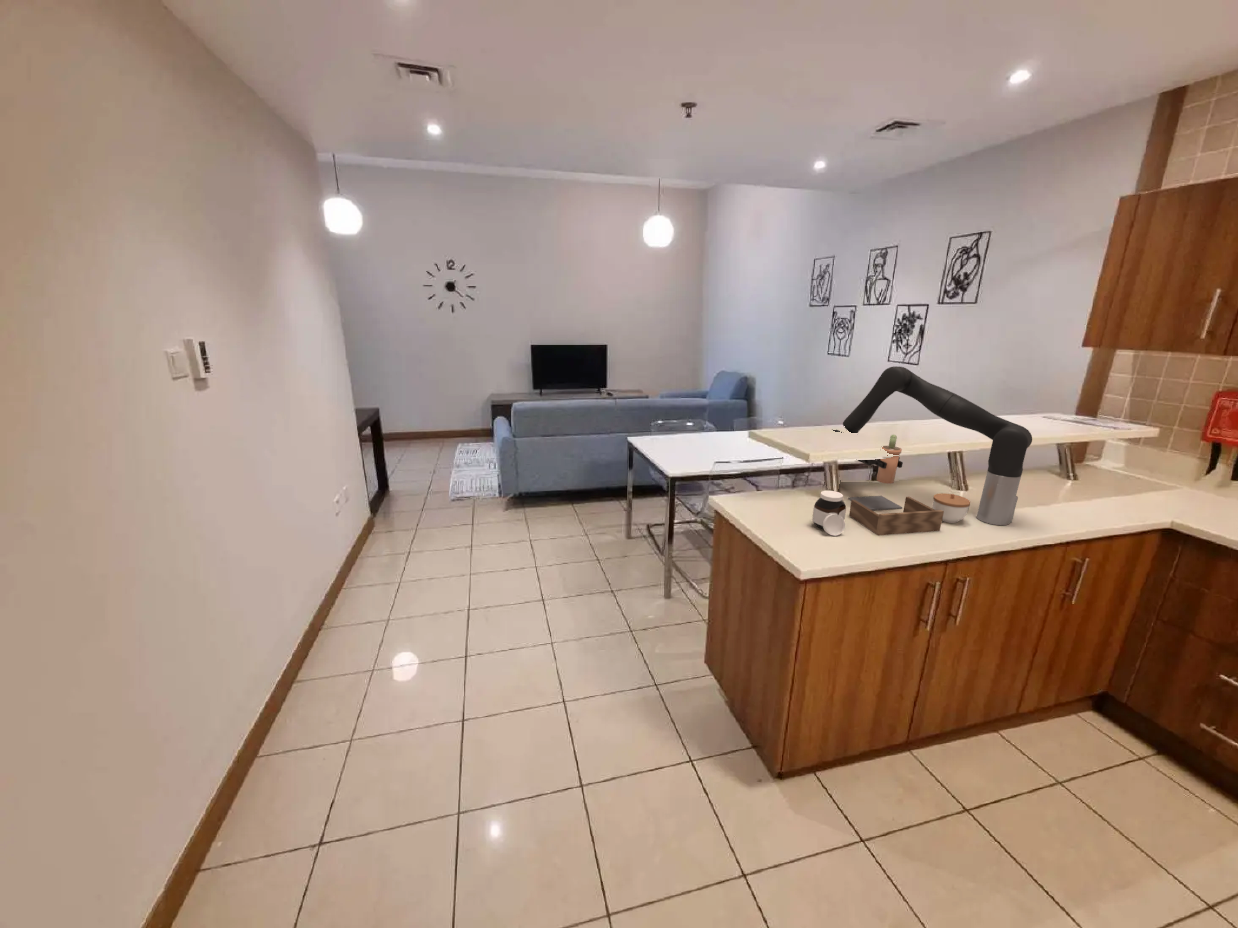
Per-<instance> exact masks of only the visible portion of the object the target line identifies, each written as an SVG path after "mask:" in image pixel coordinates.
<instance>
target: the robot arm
mask: <svg viewBox="0 0 1238 928" xmlns="http://www.w3.org/2000/svg"><path fill="white" fill-rule="evenodd" d="M896 392H898V393H901V394H903V395H906V396H908V397H909V398H912V399H913V400H916V401H918V402H919V403H920V404H921V405H922V406H924V407H925V408H926V409H927V410H928V411H929V412H931V413H932V414H934V415H935V416H937V417H939V418H940V419H942V420H944V421H946V422H948V423H951V424H953V425H955V426H959V427H961V428H965V429H968V430H971V431H975V432H977V433H979V434H982V435H983V436H985V437H987V438H988V439H990V440H992V442H991V447H990V452H989V456H988V461H987V462H988V463H987V464H988V466H987V471H986V476H985V478H984V479H985V480H984V484H983V488H982V493H981V496H980V500H979V504H978V509H977V513H976V518H977V520H979V521H980V522H981V521H982V522H983V523H987V524H990V525H994V526H996V525H997V526H1007V525H1009V524H1010V523H1013V519H1014V514H1015V511H1016V507H1017V503H1018V499H1019V497H1018V496H1017V493H1018V490H1019V486H1020V483H1021V482H1020V481H1021V478H1022V474H1023V470H1024V467H1023V466H1024V461H1025V457H1026V452H1027V450H1028V448H1029V447H1030V446H1031V444H1032V442H1033V435H1032V434H1031V433H1032V432H1030V430H1029V429H1028V428H1026V427H1024V426H1022V425H1021V424H1017V423H1014V422H1012V421H1009V420H1007V419H1005V418H1003V417H1002V418H1001V417H1000V416H997V415H995V414H993V413H992V412H990V411H987V410H986V409H984V408H982V407H981V406H979V405H977V404H975V403H974V402H972V401H970V400H968V399H966V398H964V397H962V396H960V395H958V394H957V393H955V392H953V391H950V390H948V389H945V388H943V387H941V386H938V385H935V384H933V383H931V382H929V381H927V380H925V379H923V378H922V377H921V376H919V375H917V374H916V373H914V372H913V371H911V370H910V369H908V368H906V367H904V366H890V367H888V368H886V369H885V370H884V371H883V372H882V373H881V374H880V376H879V377H878V379H877V381H876V382H875V383H874V385H873V387H872V388H871V389H870V391H869V392H868V393H867V394H866V396H865V397H864V398H863V399H862V401H861V402H860V403H859V404H858V405H857V406H856V407H855V408H854V409H853V410H852V411H851V412H850V414H849V415H848V416H847V417H846V418H844V420H843V422H842V426H843V427H844V426H845V427H844V428H845V430H846V431H847V430H848V431H849V432H851V433H858V434H859V432H860V431H861V430H862V428H864V426H865V425H866V424H867V423H868V422H869V421H870V420H871V419H872V417H874V415H875V413H876V412H877V410H878V408H879V407H880V406H881V405H882V404H883V402H884V401H885V400H886V399H888V398H889V397H890V396H892V394H894V393H896ZM832 430H833V429H832ZM833 431H835V432H840V431H841V430H839V429H836V430H833ZM842 432H843V431H841V433H842ZM900 459H901V458H900V456H899V460H898V465H897V469H898V468H899V469H900V468H902V467H903V461H901V460H900ZM857 462H859V463H862V464H864V465H867V466H869V467H870V466H871V467H872V466H874V467H878V468H879V467H881V468H883V469H885V468H886V465H887V463H886V462H884V461H882V460H880V459H875V460H857Z"/></svg>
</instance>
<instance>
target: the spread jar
mask: <svg viewBox="0 0 1238 928" xmlns="http://www.w3.org/2000/svg"><path fill="white" fill-rule="evenodd" d="M843 497H844V494H842V493H841V492H839V491H835V490H821V492H820V496H819V498H818V499H817V500H816V501H815V503H814V505H813V508H812V509H813V511H812V516H811V517H812V519H811V520H812V522H813V523H814V525H815V526H816V527H817V528H819V529H822V530H824V532H825V533H826V534H828V535H830V536H833V537H835V536H836V537H837V536H840V535H841V534H842V533H843V532H844V531H845V529H846V521H845V519H846V513H847V506H846V503H845V502H844V501H843Z"/></svg>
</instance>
